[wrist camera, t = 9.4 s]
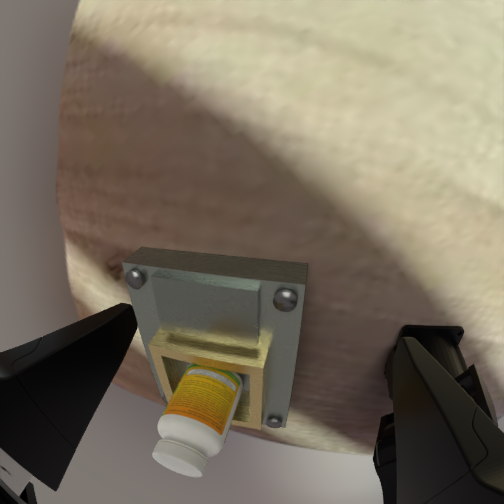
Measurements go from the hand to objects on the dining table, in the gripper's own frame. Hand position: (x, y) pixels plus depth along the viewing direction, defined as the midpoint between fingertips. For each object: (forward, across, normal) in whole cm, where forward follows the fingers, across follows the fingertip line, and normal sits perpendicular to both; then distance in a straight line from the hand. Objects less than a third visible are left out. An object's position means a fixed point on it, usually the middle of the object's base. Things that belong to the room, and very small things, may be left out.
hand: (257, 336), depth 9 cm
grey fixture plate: (+12, +6, +13) cm, 19 cm away
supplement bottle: (+10, +6, +15) cm, 19 cm away
